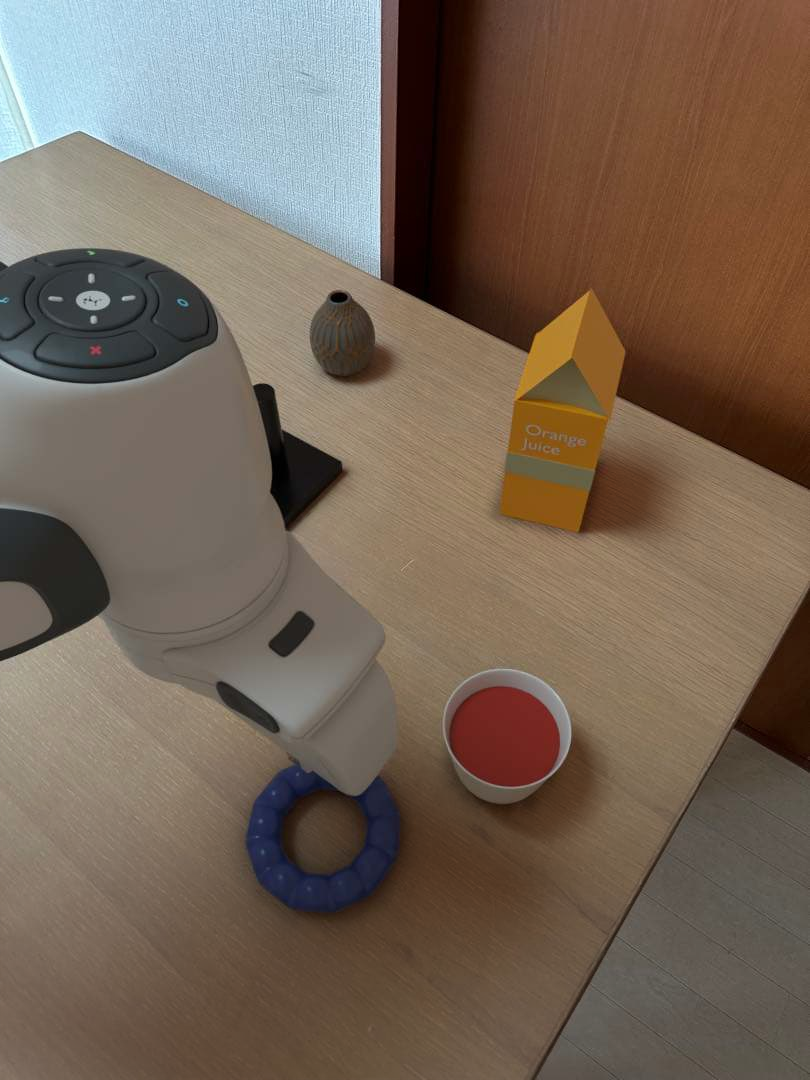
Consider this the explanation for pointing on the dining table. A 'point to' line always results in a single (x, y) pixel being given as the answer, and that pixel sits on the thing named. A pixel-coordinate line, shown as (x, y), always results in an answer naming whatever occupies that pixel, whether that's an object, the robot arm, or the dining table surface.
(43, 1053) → the dining table surface
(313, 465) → the black post stand
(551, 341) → the orange juice
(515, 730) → the candle
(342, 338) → the vase
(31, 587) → the robot arm
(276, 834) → the ring
